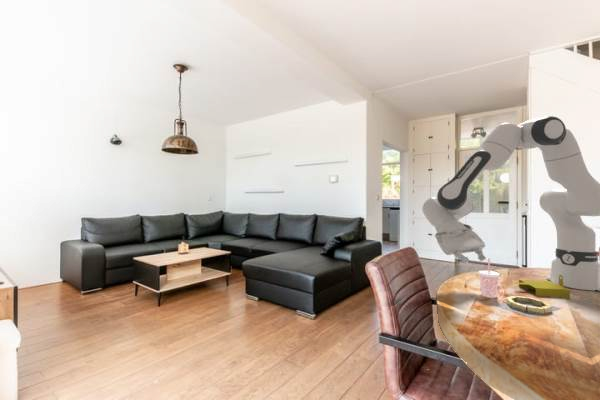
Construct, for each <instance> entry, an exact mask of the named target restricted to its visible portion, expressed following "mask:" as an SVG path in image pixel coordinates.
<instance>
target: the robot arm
mask: <svg viewBox="0 0 600 400" xmlns="http://www.w3.org/2000/svg"><path fill="white" fill-rule="evenodd" d="M535 148H538V149H539V150H540V151H541V155H542V159H543V162H544V165H545V169H546V171H547V175H548V177H549V179H550V180H551V181H553V182H555V183H558V184H559V185H561V186H562V188H555V189H550V190H547V191H545V192H543V193H541V195H540V197H539V206H540V208H541V209H542V210H543V212H546V213H547V214H548V215H549V217H550V219H552V220H551V221H552V222H553V223H554V226H555V230H556V242H557V243H556V248H555V251H554V253H555V257H556V258H555V259H553V260H552V261H551V265H550V266H551V267H550V275H548V276H546V280H547V281H551V282H553V283H556V284H559V275H562V277H563V287H565V288H571V289H577V290H582V291H583V290H584V291H595V290H598V291H597V292H600V263H599V257H600V251H598V250H596V242H597V241H596V236H597V235H596V231H594V229H593V228H592V227H590V226H588V225H586V224H585V222H584V221H583V220H582V217H600V182H598V181H597V180H596V179H595V178H594V177H593V176H592V174H591V173H590V171H589V170H588V168H587V166H586V163H585V160H584V157H583V155H582V151H581V149H580V145H579V143H578V141H577V139H576V137H575V136H574V134H573V133H572V131H571V130H570V129H568V128H567V127H566V125H565V123H564V121H562V119H560V118H559V117H557V116H553V115H552V116H551V115H549V116H541V117H537V118H532V119H530V120H529V119H528V120H526V121H524V122H522V123H518V124H515V123H511V122H503V123H500V124H499V125H497V126H496V127H495V128H494V129H493V130H492V131H491V132H490V133H489V134H488V136H487V137H486V138H485V139H484V141H483V142H482V143H481V145H480V146H479V147H478V149H477V150H476V151H475V153H473V155H471V156H470V158H469V159H467V161H466V162H465V163H464V164H463V165H462V167H461V168H460V169H459V170H458V172H457V173H456V174H455V175H454V176H453V177H452V179H450V180H449V181H448V182H446V183H445V184H442V186H441V187H440V188H439V189H438V192H437V194H436V197H434V196H431V197H429V198H428V199H426V201H425V202H423V204H422V213H423V215H424V216H425V217H426V220H427V221H428V222H429V223H430V225H432V226H433V227H434V228H435V231H436V233H435V234H434V237H435V239H436V241H437V242H436V243H437V244H438V245H439V247H440V249H441V251H442V253H444V254H445V255H446V256H451V255H453V256H455V257H456V258H458V259H459V260H461V262H462V263H463V264H468V263H469V262H470V258H468V256H465V255H464V254H466V253H467V254H468V253H475V254H477V259H478V260H479V261H482V262H483V261H485V260H486V259H487V258H486V256H485V255H484V252H483V249H484V248H485V247H486V243H485V242H484V241H483V239H482V238H481V237H480V236H479V234H478V233H476V232H475V230H473V229H474V228H473V226H471V225H470V224H466V223H464V222H461V221H459V220H460V219H462V218H464V217H466V216H468V215H469V214H471V212H472V211H473V208H474V203H473V201H472V198H471V197H470V195H469V194H468V192H469V188H470V187H471V185H472V184H473V183H474V181H476V179H477V178H478V176H479V175H480V174H481V173H482V172H484V171H485V170H486V171H496V170H499V169H501V168H502V167H503V166H504V165H505V164H506V163H507V162H508V161H509V159H510V158H511V156H512V155H513V153H514V152H515V150H519V151H520V150H527V149H528V150H529V149H535ZM581 216H582V217H581ZM562 277H560V279H562Z"/></svg>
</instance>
